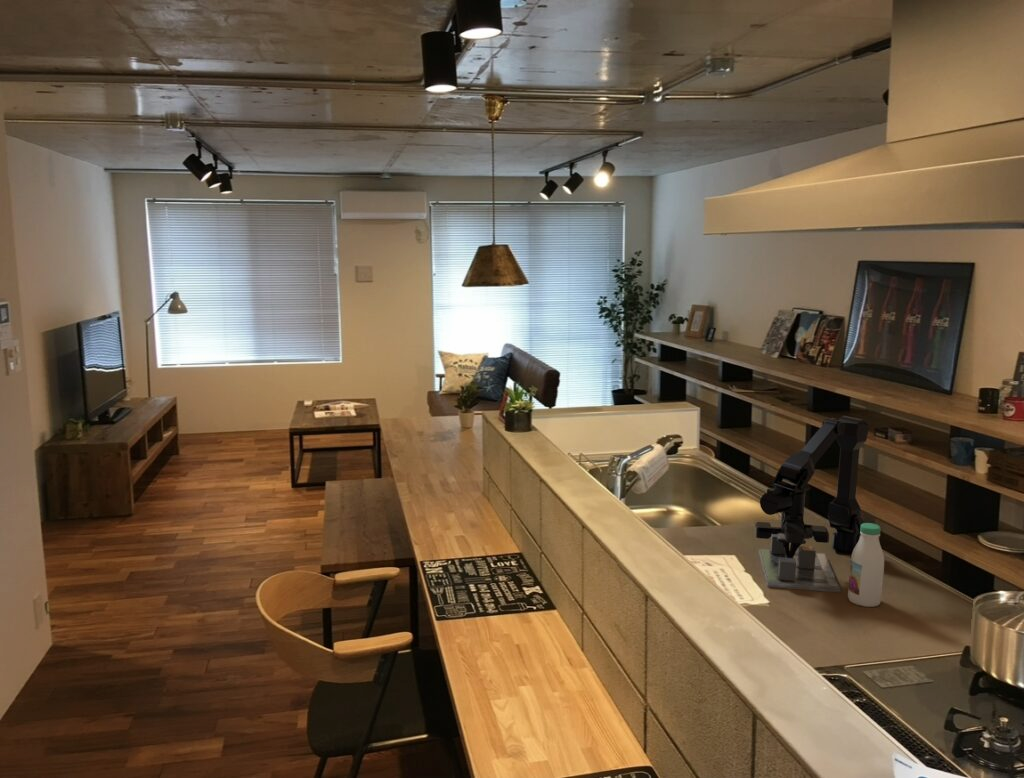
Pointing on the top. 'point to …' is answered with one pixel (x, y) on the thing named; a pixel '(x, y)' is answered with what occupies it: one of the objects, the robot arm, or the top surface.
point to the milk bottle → (867, 568)
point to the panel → (800, 573)
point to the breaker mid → (806, 557)
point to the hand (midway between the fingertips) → (789, 561)
